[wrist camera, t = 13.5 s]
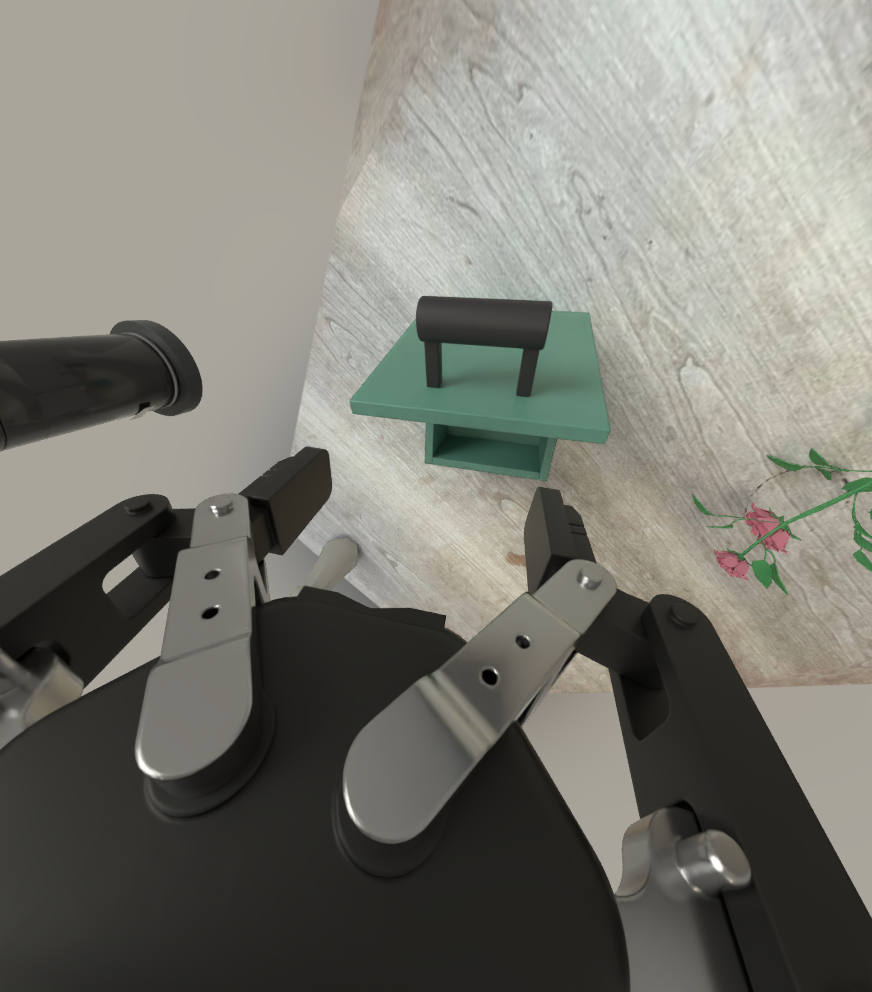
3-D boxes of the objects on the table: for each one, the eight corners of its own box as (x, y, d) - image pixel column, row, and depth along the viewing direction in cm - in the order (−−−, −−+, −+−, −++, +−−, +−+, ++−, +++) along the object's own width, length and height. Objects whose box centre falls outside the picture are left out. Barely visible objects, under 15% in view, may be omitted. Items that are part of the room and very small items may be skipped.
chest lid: (604, 445, 14) (656, 329, 11) (352, 414, 16) (325, 311, 13) (586, 324, 23) (610, 241, 20) (427, 315, 26) (423, 240, 22)
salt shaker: (326, 532, 53) (272, 591, 42) (356, 532, 51) (309, 592, 40) (338, 560, 55) (290, 622, 44) (367, 560, 53) (325, 625, 43)
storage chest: (544, 450, 37) (546, 481, 31) (442, 437, 39) (424, 463, 33) (574, 316, 30) (587, 318, 24) (448, 309, 32) (428, 310, 26)
